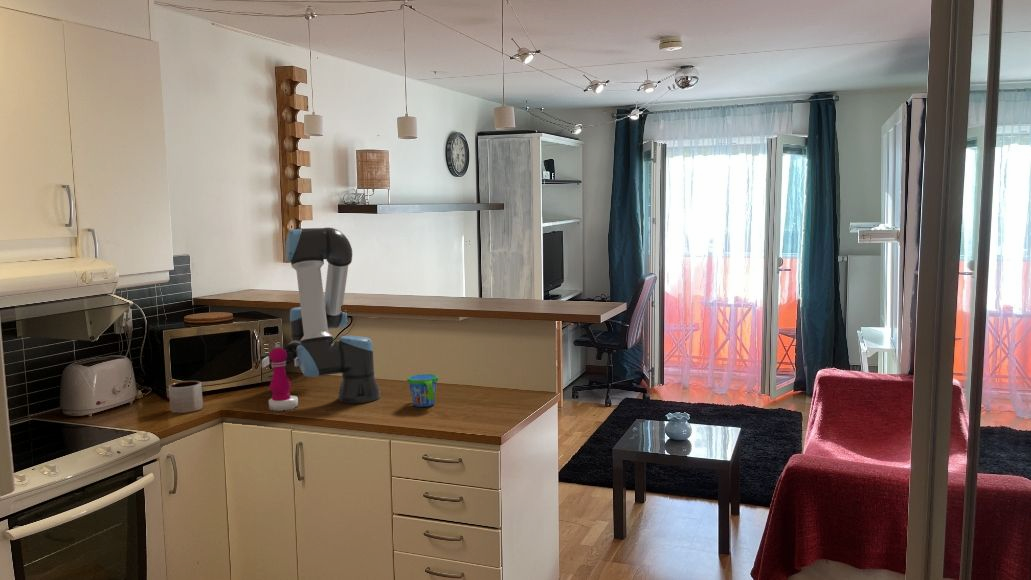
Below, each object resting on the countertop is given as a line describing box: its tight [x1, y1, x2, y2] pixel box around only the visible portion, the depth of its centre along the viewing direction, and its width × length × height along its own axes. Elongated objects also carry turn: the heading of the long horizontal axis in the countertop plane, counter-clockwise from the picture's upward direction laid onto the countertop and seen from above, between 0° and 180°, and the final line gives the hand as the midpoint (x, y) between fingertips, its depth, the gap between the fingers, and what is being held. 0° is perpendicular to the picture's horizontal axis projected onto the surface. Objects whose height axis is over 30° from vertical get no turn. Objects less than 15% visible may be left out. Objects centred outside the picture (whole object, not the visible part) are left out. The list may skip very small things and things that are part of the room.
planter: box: [168, 380, 204, 414], centre depth 278 cm, size 11×11×10 cm
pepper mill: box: [269, 343, 292, 401], centre depth 277 cm, size 7×7×20 cm
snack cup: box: [406, 373, 439, 408], centre depth 274 cm, size 16×10×10 cm
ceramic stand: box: [268, 395, 299, 412], centre depth 278 cm, size 10×10×3 cm
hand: (279, 363), depth 278 cm, fingers open, 11 cm apart
